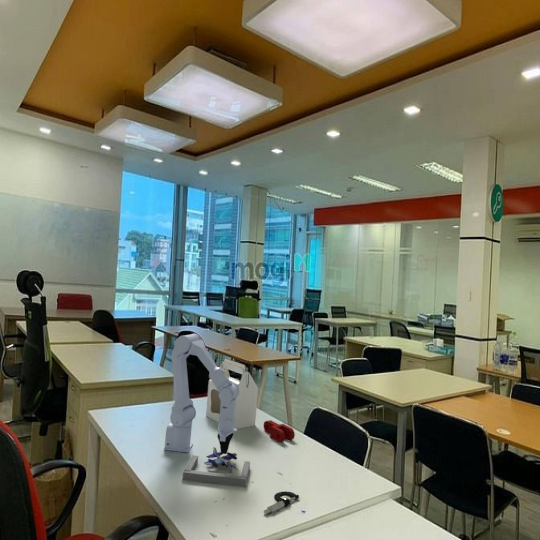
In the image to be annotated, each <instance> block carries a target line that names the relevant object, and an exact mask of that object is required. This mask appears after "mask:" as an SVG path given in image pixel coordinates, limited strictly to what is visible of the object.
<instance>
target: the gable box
mask: <svg viewBox="0 0 540 540" xmlns="http://www.w3.org/2000/svg"><path fill="white" fill-rule="evenodd" d="M221 362H222V363H220V365H219V366H218V367H220V368H222V369H224V370H225V371H226V372H225V374H226V375H227V377H228V378H229V380H230V381H232V383H235V384H236V385H237V386H238V388H239V394H238V396H237V397H236V407H235V419H234V429H237V430H240V429H245V428H249V427H253V426H255V425H256V416H257V407H258V394H259V387H258V385H257V384H256V382H255V380H254V379H253V377H252V375H251V373H250V372H249V371H247V365H246V364H243V363H241V362H237V361H234V360H231V359H228V358H224V360H221ZM229 371H232V372H234V373H238V374H240V375H241V378H240V380H239V379H236V378H234V377H231V376H230V372H229ZM219 393H220V392H219V391H218V389H217V388H216V386H215V385H214V383H213V382H212V380H211V379H210V378H209V380H208V385H207V396H206V397H207V400H206V408H205V409H206V411H205V416H206V417H208V418H209V419H211V420H213V421H215V422H216V423H217V424H219V416H220V405H221V400H220V398H219Z"/></svg>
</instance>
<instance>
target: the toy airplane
mask: <svg viewBox="0 0 540 540" xmlns="http://www.w3.org/2000/svg"><path fill="white" fill-rule="evenodd" d="M212 450H213V451H212V453H211V454H209V455H206V458H208V459H207V461H205V462H204V465H206V466H210V465H211V466H213V467H216V468H217V467H219V465H220V466H222V467H225V468H228V470H229V471H228V472H229V474H230V473H232V468H234V469H237V470H238V471H241V470H239V469H238V468H237V467H236V466H235V465H234V464H233V462H232V461H231V460H235V461H236V460H237V459H238V457H237V456H238V455H237V453H235V452H233V453H232V452H228V451H227V454H224V453H223V452H221V451H219V452H218V451H217V448H216V447H215V446H213V449H212ZM222 455H223V456H222ZM213 458H214V459H213Z"/></svg>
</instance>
